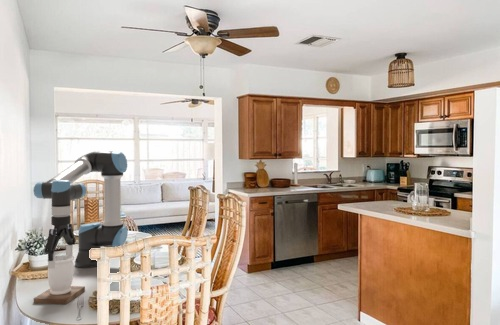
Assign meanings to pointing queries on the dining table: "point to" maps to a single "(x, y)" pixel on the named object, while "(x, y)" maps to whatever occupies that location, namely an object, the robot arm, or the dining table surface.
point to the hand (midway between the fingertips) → (60, 263)
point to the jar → (61, 275)
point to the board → (59, 296)
